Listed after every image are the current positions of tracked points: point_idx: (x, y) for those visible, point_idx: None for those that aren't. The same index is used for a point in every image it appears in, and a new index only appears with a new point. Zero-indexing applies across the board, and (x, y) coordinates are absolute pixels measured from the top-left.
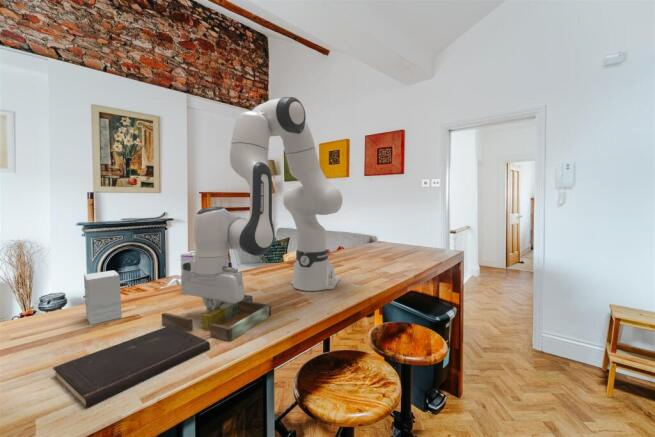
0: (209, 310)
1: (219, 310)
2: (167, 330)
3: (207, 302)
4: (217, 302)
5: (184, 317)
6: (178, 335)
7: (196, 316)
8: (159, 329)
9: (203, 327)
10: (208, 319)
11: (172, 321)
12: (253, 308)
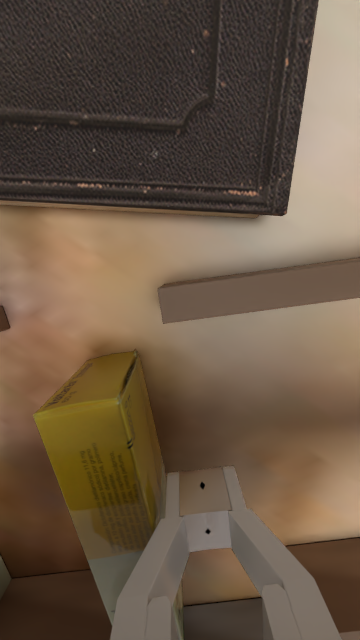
0: (210, 489)
1: (73, 520)
2: (217, 119)
3: (265, 572)
4: (116, 624)
5: (250, 304)
6: (52, 111)
7: (305, 425)
8: (298, 94)
9: (132, 354)
10: (64, 392)
11: (335, 262)
12: (69, 611)
